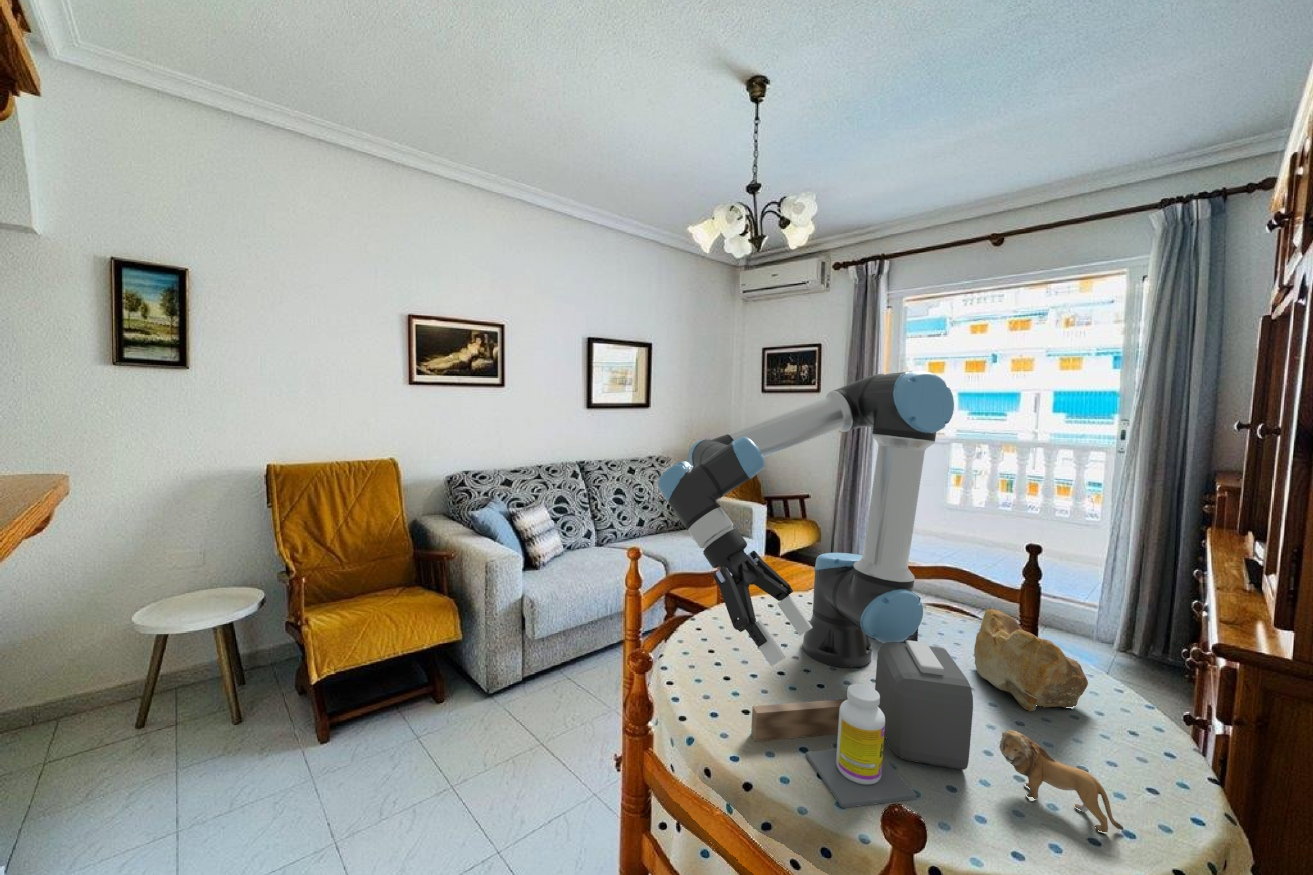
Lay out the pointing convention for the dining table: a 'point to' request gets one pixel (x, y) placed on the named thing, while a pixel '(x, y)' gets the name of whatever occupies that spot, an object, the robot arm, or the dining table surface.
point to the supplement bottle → (861, 735)
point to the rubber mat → (855, 793)
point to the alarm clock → (924, 704)
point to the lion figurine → (1054, 775)
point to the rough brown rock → (1026, 664)
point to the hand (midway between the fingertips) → (793, 645)
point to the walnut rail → (795, 720)
